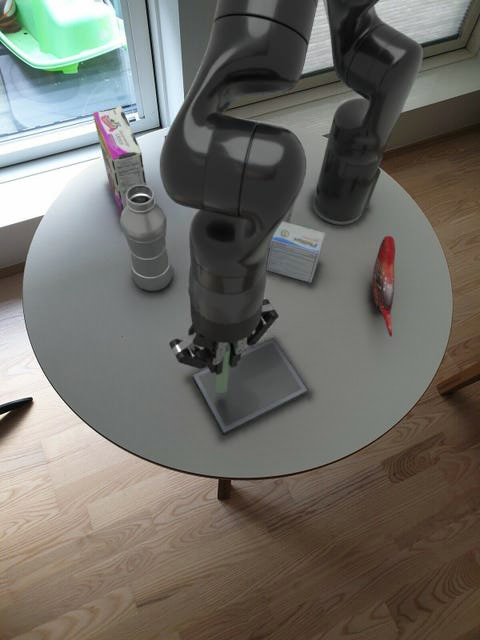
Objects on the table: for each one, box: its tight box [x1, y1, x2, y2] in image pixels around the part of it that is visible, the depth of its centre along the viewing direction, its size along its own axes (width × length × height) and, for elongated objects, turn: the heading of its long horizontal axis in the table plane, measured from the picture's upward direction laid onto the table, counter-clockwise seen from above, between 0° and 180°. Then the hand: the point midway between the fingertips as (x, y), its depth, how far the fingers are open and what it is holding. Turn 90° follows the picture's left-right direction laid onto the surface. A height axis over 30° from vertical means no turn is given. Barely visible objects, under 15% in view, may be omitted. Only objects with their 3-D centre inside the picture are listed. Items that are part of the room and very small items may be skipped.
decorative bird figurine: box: [371, 235, 396, 338], centre depth 85 cm, size 3×18×10 cm, turn 176°
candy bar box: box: [92, 106, 147, 215], centre depth 91 cm, size 11×5×16 cm, turn 23°
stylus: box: [216, 344, 231, 394], centre depth 71 cm, size 2×2×14 cm
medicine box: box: [266, 221, 326, 284], centre depth 89 cm, size 8×4×9 cm, turn 72°
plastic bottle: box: [119, 185, 173, 292], centre depth 81 cm, size 6×7×20 cm
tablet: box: [192, 337, 309, 436], centre depth 81 cm, size 14×10×1 cm
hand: (223, 364), depth 69 cm, fingers closed on stylus, 1 cm apart
